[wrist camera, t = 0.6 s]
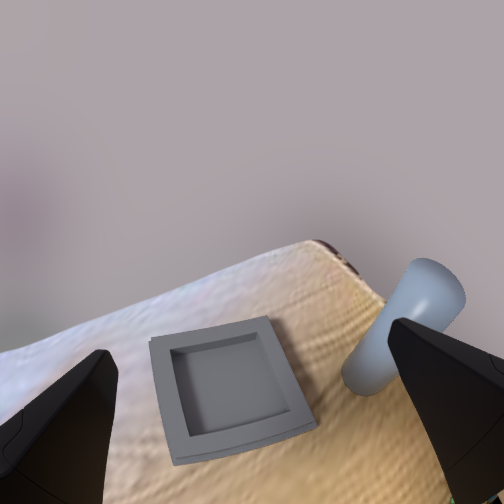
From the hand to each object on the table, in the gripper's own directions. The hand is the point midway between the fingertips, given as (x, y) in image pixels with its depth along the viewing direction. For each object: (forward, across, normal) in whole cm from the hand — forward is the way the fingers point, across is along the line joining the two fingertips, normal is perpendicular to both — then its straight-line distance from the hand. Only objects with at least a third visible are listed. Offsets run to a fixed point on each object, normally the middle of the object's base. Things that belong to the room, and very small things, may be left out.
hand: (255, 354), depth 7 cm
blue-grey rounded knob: (+10, -11, +15) cm, 21 cm away
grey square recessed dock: (+10, +2, +13) cm, 16 cm away
